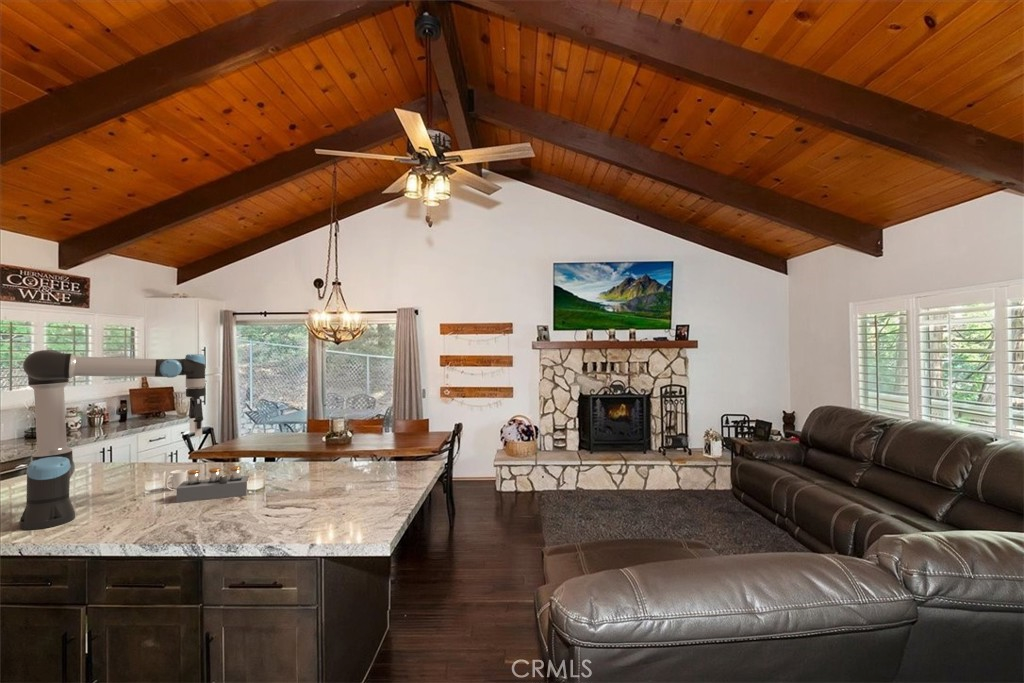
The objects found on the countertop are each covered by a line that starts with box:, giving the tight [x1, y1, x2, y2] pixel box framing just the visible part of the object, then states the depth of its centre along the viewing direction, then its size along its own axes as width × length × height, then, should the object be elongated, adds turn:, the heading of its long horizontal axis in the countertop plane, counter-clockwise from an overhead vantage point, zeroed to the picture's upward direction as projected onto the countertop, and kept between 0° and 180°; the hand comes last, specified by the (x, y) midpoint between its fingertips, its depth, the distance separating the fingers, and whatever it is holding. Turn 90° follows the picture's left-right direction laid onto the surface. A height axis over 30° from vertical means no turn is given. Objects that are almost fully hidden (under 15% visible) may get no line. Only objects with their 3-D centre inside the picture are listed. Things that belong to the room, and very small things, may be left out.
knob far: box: [229, 465, 242, 482], centre depth 218 cm, size 5×5×7 cm
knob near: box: [187, 469, 201, 485], centre depth 212 cm, size 5×5×7 cm
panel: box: [176, 475, 250, 503], centre depth 215 cm, size 26×12×6 cm, turn 113°
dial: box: [220, 475, 228, 484], centre depth 212 cm, size 3×3×3 cm
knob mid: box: [208, 467, 222, 484], centre depth 215 cm, size 5×5×7 cm
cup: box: [164, 469, 189, 491], centre depth 223 cm, size 7×10×8 cm
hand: (195, 434), depth 221 cm, fingers open, 13 cm apart
